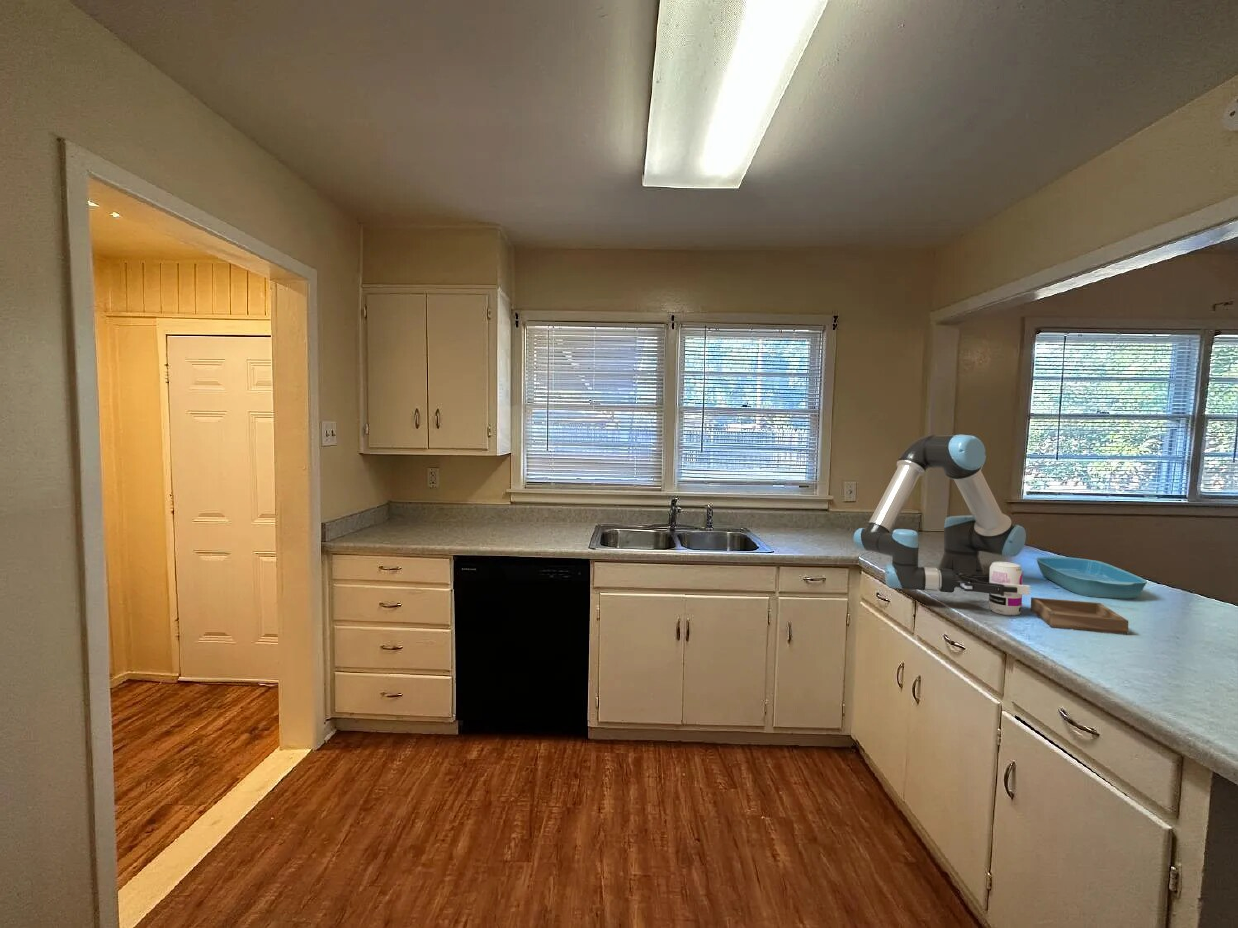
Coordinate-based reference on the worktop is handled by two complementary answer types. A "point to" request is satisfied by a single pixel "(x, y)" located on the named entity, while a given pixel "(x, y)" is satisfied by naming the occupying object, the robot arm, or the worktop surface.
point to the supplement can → (1005, 575)
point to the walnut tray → (1079, 616)
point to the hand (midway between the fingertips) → (1023, 586)
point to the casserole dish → (1091, 577)
